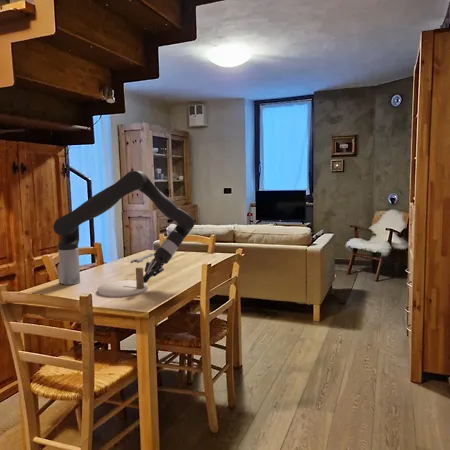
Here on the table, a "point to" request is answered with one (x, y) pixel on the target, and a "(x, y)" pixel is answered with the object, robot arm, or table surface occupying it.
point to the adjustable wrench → (141, 258)
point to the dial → (125, 286)
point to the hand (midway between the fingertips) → (143, 281)
